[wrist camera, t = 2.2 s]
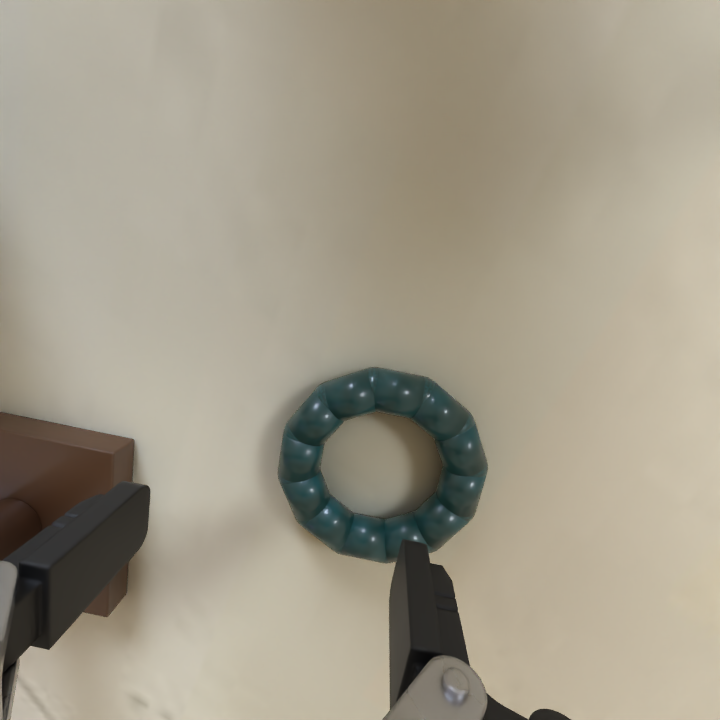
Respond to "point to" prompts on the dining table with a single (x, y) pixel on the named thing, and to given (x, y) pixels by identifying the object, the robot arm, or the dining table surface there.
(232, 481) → the dining table surface
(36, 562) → the robot arm
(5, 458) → the holder
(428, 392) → the ring
